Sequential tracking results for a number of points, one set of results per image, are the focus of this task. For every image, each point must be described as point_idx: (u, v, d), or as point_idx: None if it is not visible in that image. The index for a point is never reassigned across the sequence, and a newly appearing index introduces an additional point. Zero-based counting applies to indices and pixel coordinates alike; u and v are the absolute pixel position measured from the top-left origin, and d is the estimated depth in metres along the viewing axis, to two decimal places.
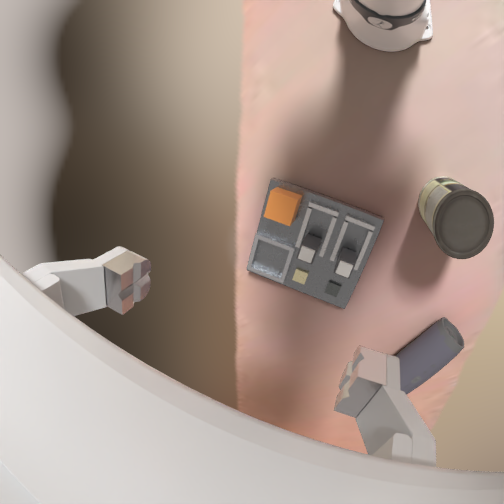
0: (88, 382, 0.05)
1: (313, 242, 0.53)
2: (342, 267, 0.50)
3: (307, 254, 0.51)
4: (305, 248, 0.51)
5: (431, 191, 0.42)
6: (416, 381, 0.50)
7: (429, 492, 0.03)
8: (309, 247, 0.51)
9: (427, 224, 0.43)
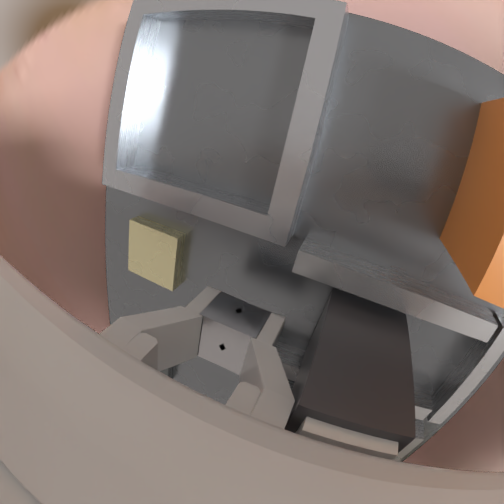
0: (88, 381, 0.05)
1: None
2: None
3: None
4: None
5: None
6: None
7: (429, 493, 0.03)
8: None
9: None
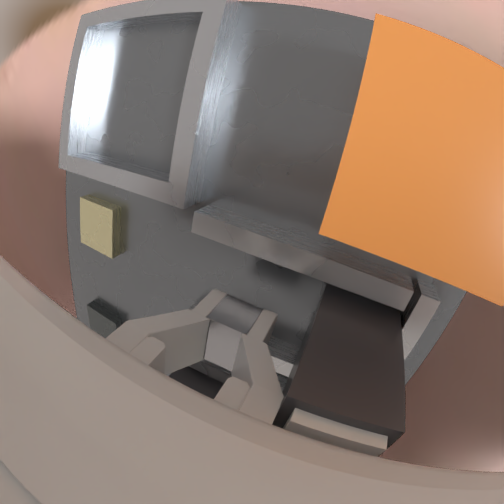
0: (89, 382, 0.05)
1: None
2: None
3: None
4: None
5: None
6: None
7: (429, 493, 0.03)
8: None
9: None
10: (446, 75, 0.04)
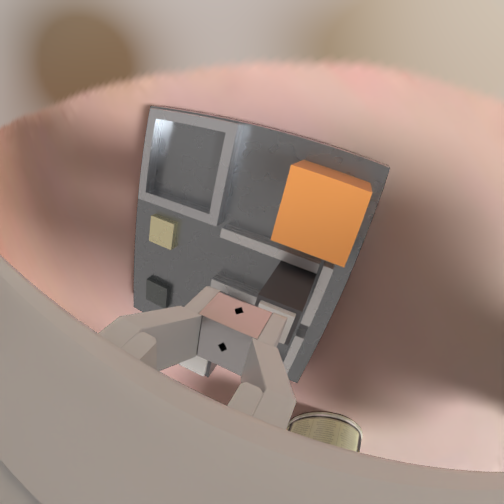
0: (89, 382, 0.05)
1: None
2: (195, 359, 0.23)
3: None
4: (289, 324, 0.19)
5: None
6: None
7: (428, 493, 0.03)
8: (292, 329, 0.19)
9: None
10: (313, 187, 0.17)
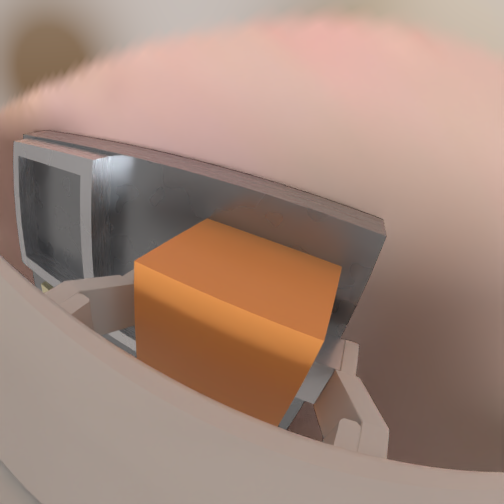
0: (88, 381, 0.05)
1: None
2: None
3: None
4: None
5: None
6: None
7: (429, 493, 0.03)
8: None
9: None
10: (184, 313, 0.07)
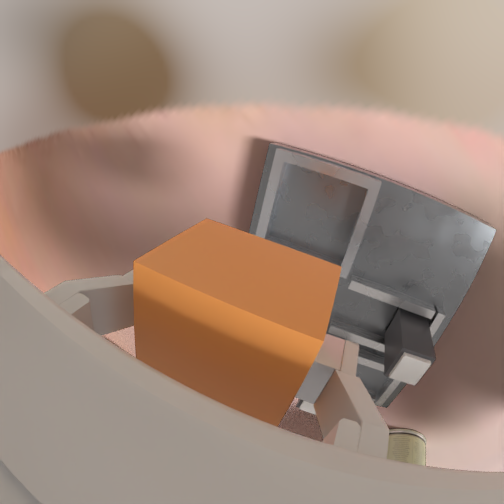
0: (88, 382, 0.05)
1: None
2: None
3: (410, 373, 0.19)
4: (424, 369, 0.18)
5: None
6: None
7: (429, 493, 0.03)
8: None
9: None
10: (183, 314, 0.07)
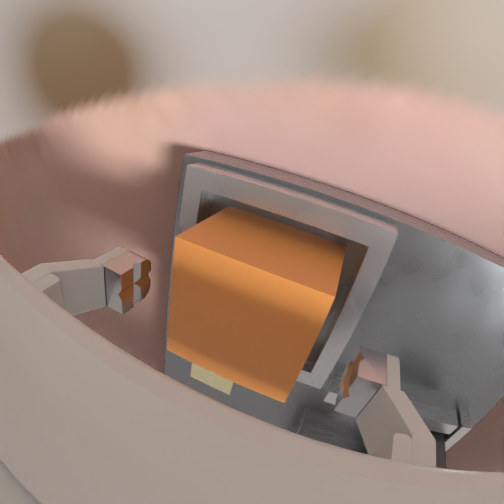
0: (88, 382, 0.05)
1: None
2: None
3: None
4: None
5: None
6: None
7: (429, 493, 0.03)
8: None
9: None
10: (218, 280, 0.09)
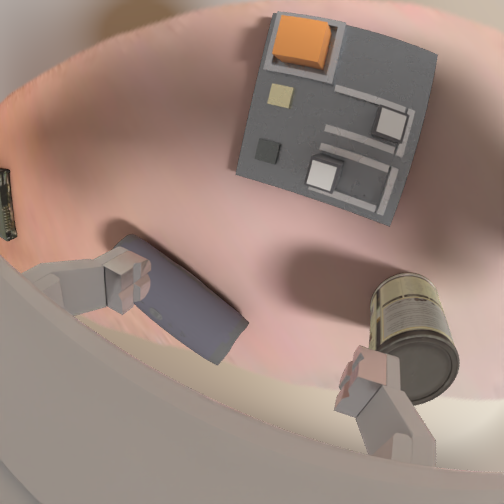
0: (88, 382, 0.05)
1: None
2: (325, 172, 0.28)
3: (392, 125, 0.24)
4: (403, 122, 0.23)
5: (437, 302, 0.30)
6: (153, 314, 0.41)
7: (429, 493, 0.03)
8: (404, 129, 0.24)
9: (397, 302, 0.31)
10: (294, 23, 0.24)
